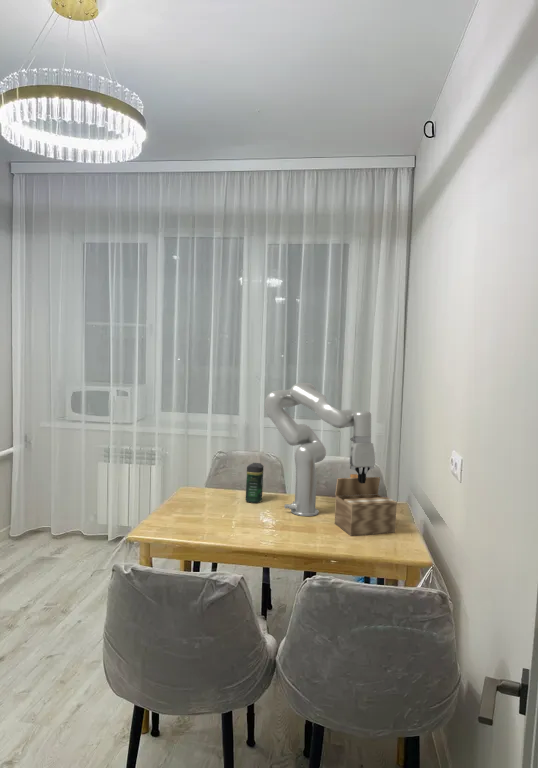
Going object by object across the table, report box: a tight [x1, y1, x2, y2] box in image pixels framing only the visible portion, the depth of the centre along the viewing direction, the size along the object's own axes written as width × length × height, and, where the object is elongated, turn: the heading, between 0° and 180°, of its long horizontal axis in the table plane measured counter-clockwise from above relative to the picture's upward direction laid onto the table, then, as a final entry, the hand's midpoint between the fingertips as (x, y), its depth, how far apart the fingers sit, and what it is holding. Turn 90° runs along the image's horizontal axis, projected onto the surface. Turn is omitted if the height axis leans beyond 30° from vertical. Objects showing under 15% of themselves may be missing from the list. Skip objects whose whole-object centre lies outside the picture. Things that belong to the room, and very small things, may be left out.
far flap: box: [335, 473, 381, 497], centre depth 229 cm, size 20×8×6 cm
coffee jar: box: [245, 462, 264, 504], centre depth 256 cm, size 10×8×19 cm
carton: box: [334, 493, 398, 537], centre depth 219 cm, size 20×16×13 cm
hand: (361, 482), depth 224 cm, fingers closed
